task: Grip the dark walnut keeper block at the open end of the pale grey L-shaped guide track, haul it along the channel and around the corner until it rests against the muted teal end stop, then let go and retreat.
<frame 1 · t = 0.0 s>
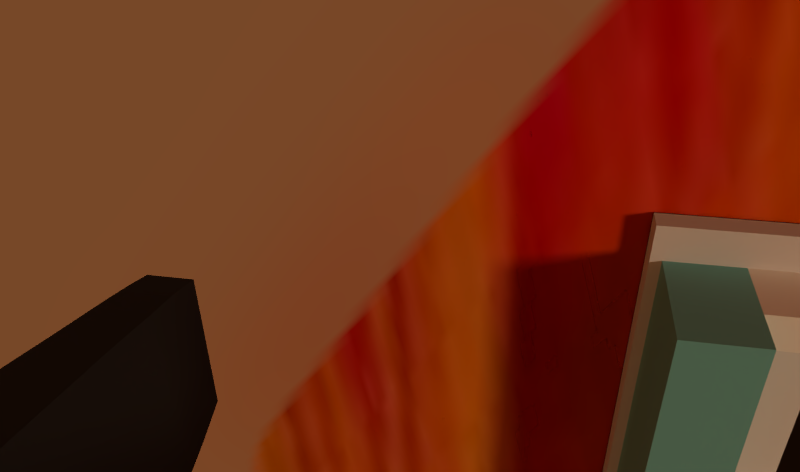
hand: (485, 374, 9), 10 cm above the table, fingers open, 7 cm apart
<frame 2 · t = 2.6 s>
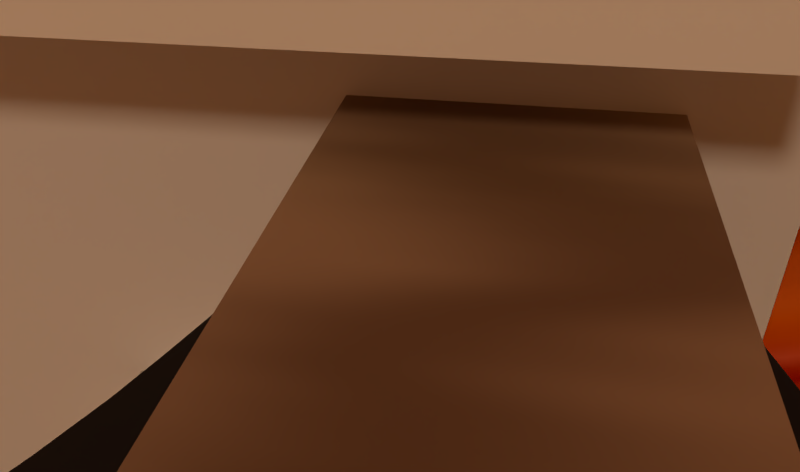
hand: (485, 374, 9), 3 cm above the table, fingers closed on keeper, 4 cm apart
keeper: (500, 245, 11), point 1 cm above the table, touching gripper, guide track
guide track: (184, 370, 15), on the table
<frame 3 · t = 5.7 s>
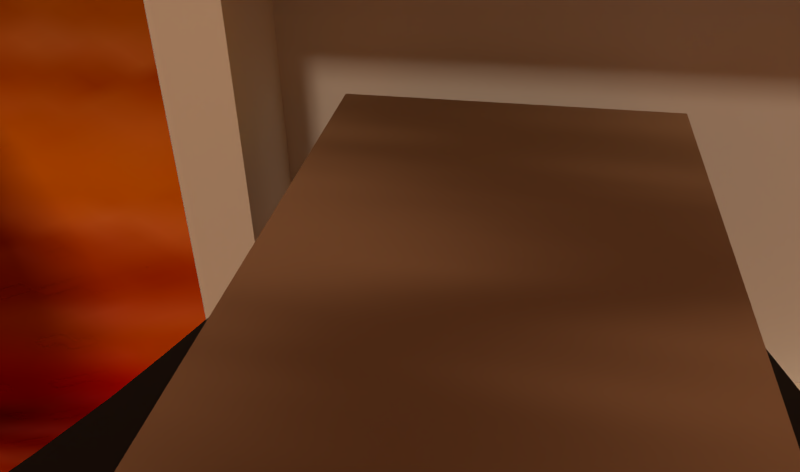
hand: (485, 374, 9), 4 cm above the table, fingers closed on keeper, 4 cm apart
keeper: (500, 244, 11), point 2 cm above the table, touching gripper
guide track: (713, 372, 14), on the table
when the fingers open (4 cm above the table, at t = 8.7 s): keeper stays where it is, resting on guide track.
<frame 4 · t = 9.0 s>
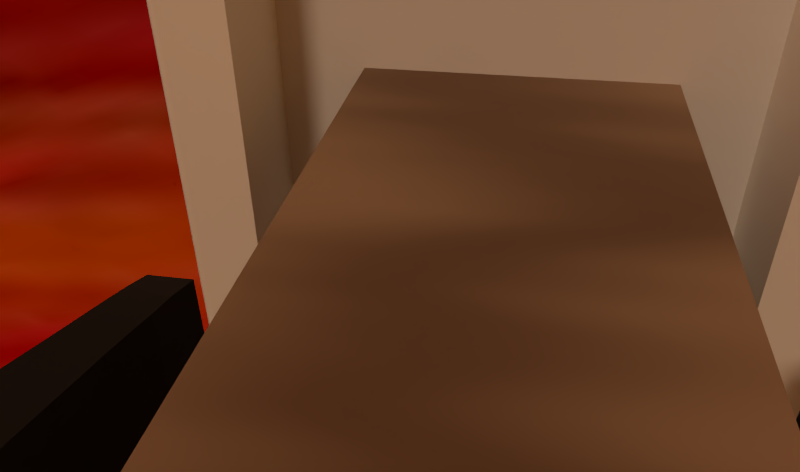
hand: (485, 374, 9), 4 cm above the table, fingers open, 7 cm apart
keeper: (507, 210, 12), point 1 cm above the table, touching guide track
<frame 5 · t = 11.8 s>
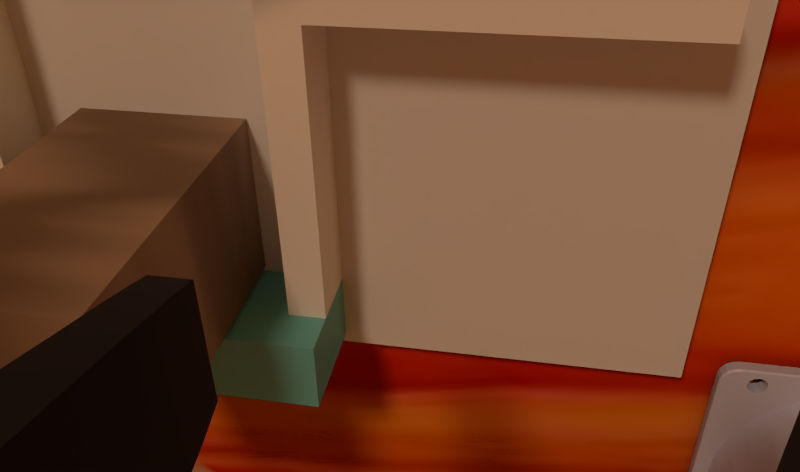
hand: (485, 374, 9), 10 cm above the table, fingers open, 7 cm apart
keeper: (177, 190, 21), point 1 cm above the table, touching guide track
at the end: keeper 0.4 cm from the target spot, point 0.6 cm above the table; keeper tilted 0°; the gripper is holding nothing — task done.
